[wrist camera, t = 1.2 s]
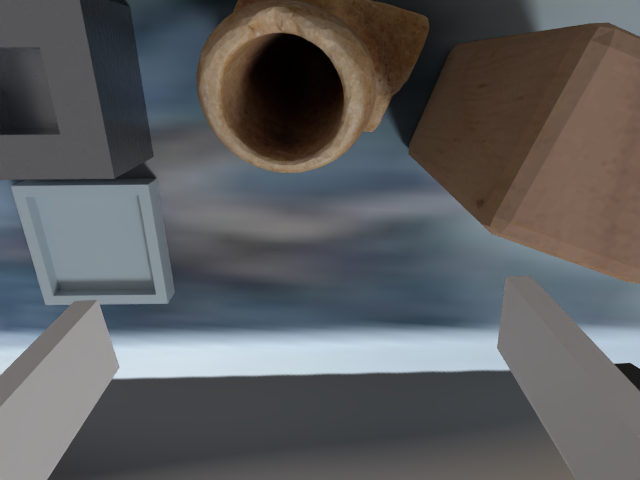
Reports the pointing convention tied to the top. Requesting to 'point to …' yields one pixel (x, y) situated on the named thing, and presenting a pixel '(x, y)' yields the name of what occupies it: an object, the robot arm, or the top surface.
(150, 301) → the tray
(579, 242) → the wooden block
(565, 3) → the top surface
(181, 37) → the top surface
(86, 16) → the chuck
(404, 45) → the stone cup
